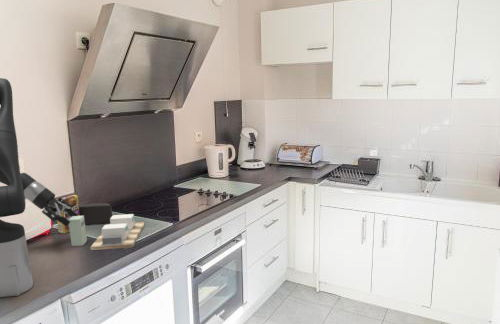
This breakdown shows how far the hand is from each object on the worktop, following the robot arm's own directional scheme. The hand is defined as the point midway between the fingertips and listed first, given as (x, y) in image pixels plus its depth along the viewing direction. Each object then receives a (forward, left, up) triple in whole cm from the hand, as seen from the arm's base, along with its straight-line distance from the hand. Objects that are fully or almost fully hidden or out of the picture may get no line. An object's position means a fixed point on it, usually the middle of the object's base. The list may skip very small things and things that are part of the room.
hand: (72, 220), depth 151 cm
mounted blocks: (+5, -17, -8) cm, 19 cm away
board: (+5, -17, -10) cm, 20 cm away
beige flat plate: (+5, -17, -9) cm, 19 cm away
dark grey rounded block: (+23, -1, -10) cm, 25 cm away
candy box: (+17, +8, -10) cm, 21 cm away
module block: (0, -2, -10) cm, 10 cm away
